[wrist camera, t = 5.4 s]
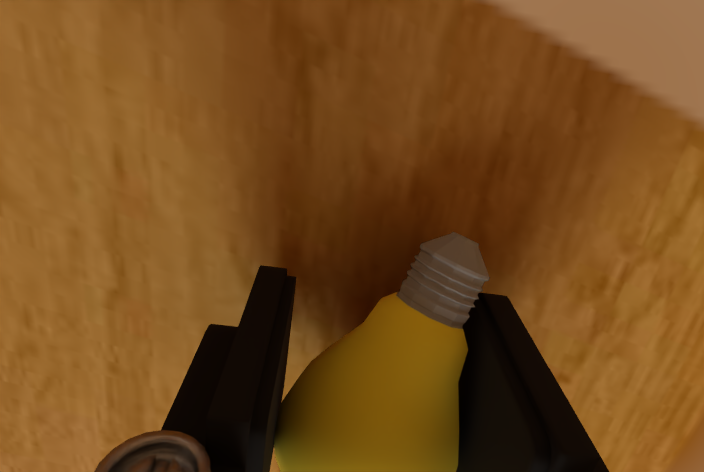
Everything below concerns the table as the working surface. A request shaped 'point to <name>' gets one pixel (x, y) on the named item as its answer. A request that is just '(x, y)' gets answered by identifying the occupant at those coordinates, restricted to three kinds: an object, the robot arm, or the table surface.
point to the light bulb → (390, 376)
